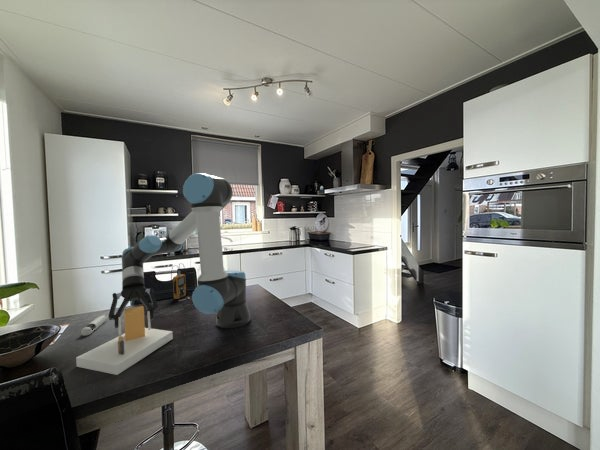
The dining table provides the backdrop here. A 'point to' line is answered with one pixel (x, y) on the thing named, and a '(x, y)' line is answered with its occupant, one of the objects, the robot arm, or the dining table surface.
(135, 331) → the orange upright block
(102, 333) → the dining table surface
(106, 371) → the white base board
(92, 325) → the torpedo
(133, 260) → the robot arm
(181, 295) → the multimeter
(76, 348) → the dining table surface
